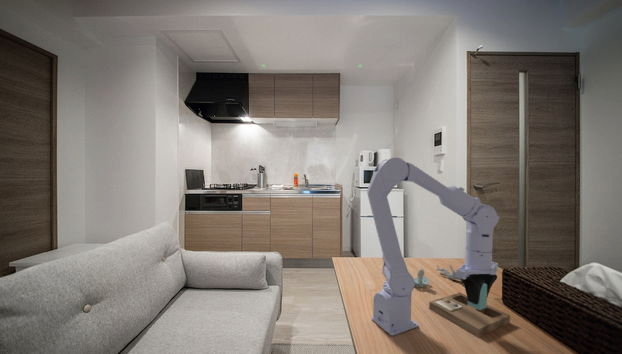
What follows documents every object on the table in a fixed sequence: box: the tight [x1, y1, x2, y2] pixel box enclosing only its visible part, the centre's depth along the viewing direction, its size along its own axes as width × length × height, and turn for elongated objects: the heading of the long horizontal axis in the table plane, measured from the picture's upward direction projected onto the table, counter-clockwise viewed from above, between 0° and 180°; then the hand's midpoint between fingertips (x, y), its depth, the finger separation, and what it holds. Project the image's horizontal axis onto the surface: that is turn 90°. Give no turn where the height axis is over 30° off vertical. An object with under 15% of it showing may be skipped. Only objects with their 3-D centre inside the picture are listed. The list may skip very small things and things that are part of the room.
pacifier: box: [413, 268, 430, 288], centre depth 89 cm, size 7×6×6 cm
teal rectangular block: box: [468, 283, 488, 310], centre depth 64 cm, size 3×3×6 cm
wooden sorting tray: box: [428, 292, 511, 338], centre depth 70 cm, size 14×14×2 cm
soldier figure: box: [435, 263, 463, 283], centre depth 94 cm, size 8×5×12 cm
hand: (476, 301), depth 64 cm, fingers closed on teal rectangular block, 3 cm apart
